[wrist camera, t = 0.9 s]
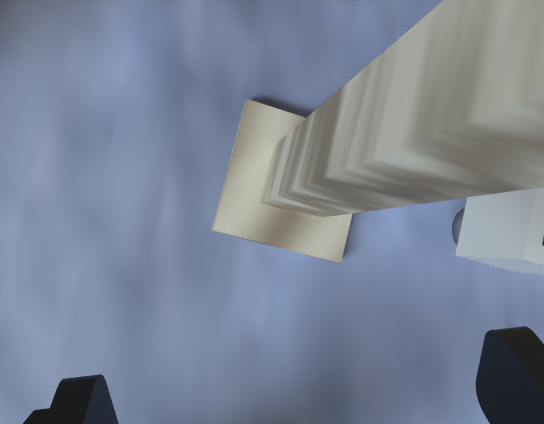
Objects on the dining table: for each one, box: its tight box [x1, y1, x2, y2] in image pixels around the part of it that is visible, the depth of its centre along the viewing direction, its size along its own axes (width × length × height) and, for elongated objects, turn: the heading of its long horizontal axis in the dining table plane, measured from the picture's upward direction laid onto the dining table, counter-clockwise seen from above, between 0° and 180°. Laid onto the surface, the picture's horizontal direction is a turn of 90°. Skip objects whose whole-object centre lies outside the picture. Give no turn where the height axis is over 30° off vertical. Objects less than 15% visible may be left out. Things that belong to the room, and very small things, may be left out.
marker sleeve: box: [455, 187, 544, 275], centre depth 29 cm, size 5×5×6 cm
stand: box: [212, 0, 544, 263], centre depth 20 cm, size 18×9×29 cm, turn 75°
